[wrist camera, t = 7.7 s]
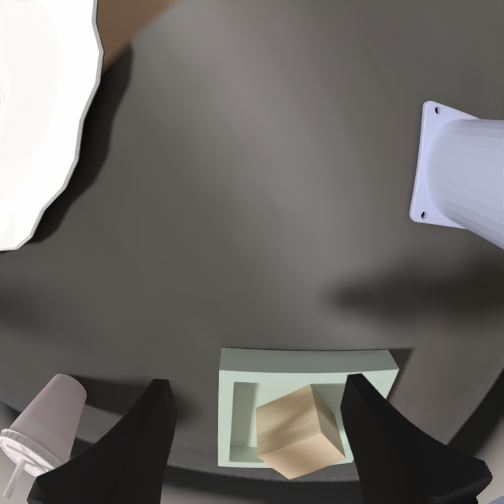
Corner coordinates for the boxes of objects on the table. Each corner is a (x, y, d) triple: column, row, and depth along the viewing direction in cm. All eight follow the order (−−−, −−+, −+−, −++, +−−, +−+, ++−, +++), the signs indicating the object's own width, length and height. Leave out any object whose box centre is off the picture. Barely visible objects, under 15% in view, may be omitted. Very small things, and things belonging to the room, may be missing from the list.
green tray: (387, 349, 23) (399, 369, 20) (346, 444, 27) (351, 462, 25) (221, 347, 22) (219, 369, 20) (219, 446, 27) (218, 465, 24)
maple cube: (310, 383, 23) (321, 432, 18) (334, 414, 24) (346, 458, 20) (255, 408, 24) (257, 456, 19) (284, 435, 25) (289, 479, 20)
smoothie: (57, 351, 22) (-19, 472, 9) (111, 398, 24) (62, 526, 11) (34, 377, 24) (-28, 478, 11) (81, 417, 26) (37, 524, 12)
